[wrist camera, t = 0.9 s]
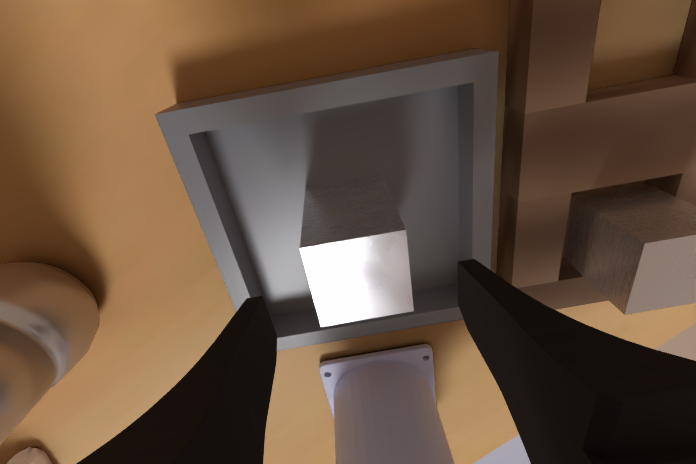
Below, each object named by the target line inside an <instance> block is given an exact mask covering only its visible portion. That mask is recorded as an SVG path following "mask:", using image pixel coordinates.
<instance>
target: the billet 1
mask: <svg viewBox="0 0 696 464" xmlns="http://www.w3.org/2000/svg"><path fill="white" fill-rule="evenodd" d="M300 251H301V255H302V259H303V262H304V266H305V270H306V273H307V277H308V281H309V285H310V288H311V292H312V296H313V299H314V303H315V307H316V310H317V314H318V318H319V322H320V325H321V327H324V326H330V325H336V324H342V323H348V322H353V321H359V320H365V319H371V318H377V317H382V316H388V315H394V314H400V313H406V312H412V311H414V308H413V297H412V287H411V276H410V266H409V255H408V245H407V235H406V229H405V226H404V224H403V222H402V219H401V217H400V215H399V213H398V210H397V208H396V206H395V203H394V201H393V199H392V197H391V194H390V192H389V190H388V187H387V185H386V183H385V181H384V178H383V176H382V174H380V175H374V176H368V177H363V178H357V179H352V180H346V181H341V182H335V183H329V184H324V185H318V186H313V187H307V188H305V197H304V208H303V219H302V229H301V240H300Z"/></svg>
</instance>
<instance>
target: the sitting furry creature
mask: <svg viewBox="0 0 696 464" xmlns="http://www.w3.org/2000/svg"><path fill="white" fill-rule="evenodd" d="M7 464H53V463H52V462H51V461H50V459H49V458H48V456H47V454H46V453H45V452H44V451H43V450H40V449H37V448H31V447H28V448H26V449H24V450H22V451H20V452H18V453H17V454H16V455H14V456H13V457H12V458H11V459H10V460H9V461H8V463H7Z"/></svg>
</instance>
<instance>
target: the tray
mask: <svg viewBox="0 0 696 464" xmlns="http://www.w3.org/2000/svg"><path fill="white" fill-rule="evenodd" d="M498 67H499V51H495V50H485V49H470V50H465V51H459V52H454V53H448V54H443V55H438V56H432V57H427V58H421V59H416V60H410V61H405V62H400V63H394V64H389V65H383V66H378V67H373V68H367V69H362V70H356V71H351V72H346V73H340V74H335V75H329V76H324V77H319V78H313V79H308V80H302V81H297V82H291V83H286V84H281V85H275V86H270V87H264V88H259V89H254V90H248V91H243V92H237V93H232V94H227V95H221V96H216V97H210V98H205V99H200V100H194V101H189V102H183V103H178V104H175V105H173V106H171V107H169V108H167V109H165V110H163V111H161V112H159V113H157V114H155V116H156V119H157V121H158V123H159V126H160V128H161V131H162V133H163V135H164V138H165V140H166V143H167V145H168V148H169V150H170V152H171V155H172V157H173V160H174V162H175V164H176V167H177V169H178V172H179V174H180V177H181V179H182V181H183V184H184V186H185V189H186V191H187V193H188V196H189V198H190V201H191V203H192V205H193V208H194V210H195V213H196V215H197V218H198V220H199V222H200V225H201V227H202V230H203V232H204V234H205V237H206V239H207V242H208V244H209V247H210V249H211V251H212V254H213V256H214V259H215V261H216V263H217V266H218V268H219V271H220V273H221V275H222V278H223V280H224V283H225V285H226V288H227V290H228V292H229V295H230V297H231V300H232V302H233V304H234V307H235V309H236V312H237V311H238V309H239V308H240V306H241V305H242V304H243V302H244V301H245V300H246V298H252V297H257V296H263V298H264V301H265V303H266V306H267V309H268V312H269V315H270V317H271V320H272V323H273V326H274V328H275V331H276V334H277V351H280V350H286V349H292V348H297V347H303V346H309V345H315V344H321V343H327V342H333V341H338V340H344V339H350V338H356V337H362V336H368V335H373V334H379V333H385V332H391V331H397V330H403V329H409V328H414V327H420V326H426V325H432V324H438V323H444V322H450V321H455V320H461V319H463V316H462V314H461V311H460V308H459V306H458V264H457V262H459V261H464V260H470V259H475V260H477V261H478V262H480V263H481V264H482V265H484V266H485V267H487V268H488V269H489V270H491V246H492V221H493V195H494V170H495V144H496V118H497V93H498ZM380 174H382V176H383V178H384V181H385V183H386V185H387V187H388V190H389V192H390V194H391V197H392V199H393V201H394V203H395V206H396V208H397V210H398V213H399V215H400V217H401V219H402V222H403V224H404V226H405V229H406V235H407V245H408V255H409V266H410V276H411V287H412V297H413V308H414V311H412V312H406V313H400V314H394V315H388V316H382V317H377V318H371V319H365V320H359V321H353V322H348V323H342V324H336V325H330V326H324V327H321V325H320V322H319V318H318V314H317V310H316V307H315V303H314V299H313V296H312V292H311V288H310V285H309V281H308V277H307V273H306V270H305V266H304V262H303V259H302V255H301V251H300V240H301V229H302V219H303V208H304V197H305V188H307V187H313V186H318V185H324V184H329V183H335V182H341V181H346V180H352V179H357V178H363V177H368V176H374V175H380Z"/></svg>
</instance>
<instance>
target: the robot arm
mask: <svg viewBox="0 0 696 464" xmlns="http://www.w3.org/2000/svg"><path fill="white" fill-rule="evenodd" d="M457 264H458V306H459V308H460V311H461V314H462V316H463V319H464V321H465V324H466V326H467V329H468V331H469V333H470V335H471V336H472V338H473V340H474V342H475V344H476V346H477V347H478V349H479V351H480V353H481V355H482V357H483V358H484V360H485V362H486V364H487V366H488V367H489V369H490V371H491V373H492V375H493V377H494V378H495V380H496V382H497V384H498V386H499V388H500V390H501V392H502V394H503V396H504V399H505V401H506V404H507V406H508V408H509V411H510V413H511V415H512V418H513V420H514V422H515V425H516V427H517V430H518V432H519V435H520V437H521V440H522V442H523V444H524V447H525V449H526V452H527V454H528V457H529V460H530V462H531V464H696V361H694V360H690V359H686V358H683V357H679V356H676V355H672V354H668V353H665V352H661V351H657V350H654V349H651V348H648V347H645V346H642V345H639V344H636V343H633V342H630V341H627V340H624V339H621V338H618V337H615V336H613V335H610V334H607V333H605V332H602V331H600V330H598V329H595V328H593V327H590V326H588V325H585V324H583V323H581V322H579V321H576V320H574V319H572V318H570V317H568V316H566V315H564V314H562V313H560V312H558V311H556V310H554V309H552V308H550V307H548V306H546V305H544V304H543V303H541V302H539V301H537V300H536V299H534V298H532V297H531V296H529V295H527V294H526V293H524V292H522V291H521V290H519V289H518V288H516V287H514V286H513V285H511V284H510V283H508V282H507V281H505V280H504V279H502V278H501V277H500V276H498V275H497V274H495V273H494V272H492V271H491V270H489V269H488V268H487V267H485V266H484V265H482V264H481V263H480V262H478V261H477V260H475V259H470V260H464V261H459V262H457ZM426 355H427V356H426ZM276 356H277V334H276V331H275V328H274V326H273V323H272V320H271V317H270V315H269V312H268V309H267V306H266V303H265V301H264V298H263V296H257V297H252V298H246V300H245V301H244V302H243V304H242V305H241V306H240V308H239V309H238V311H237V312H236V313H235V315H234V316H233V317H232V319H231V320H230V322H229V323H228V324H227V326H226V327H225V328H224V330H223V331H222V332H221V334H220V335H219V336H218V338H217V339H216V340H215V342H214V343H213V344H212V345H211V346H210V348H209V349H208V350H207V351H206V352H205V354H204V355H203V356H202V357H201V358H200V360H199V361H198V362H197V363H196V364H195V365H194V367H193V368H192V369H191V370H190V371H189V372H188V373H187V374H186V375H185V376H184V377H183V378H182V379H181V380H180V381H179V382H178V383H177V384H176V385H175V386H174V387H173V388H172V389H171V390H170V391H169V392H168V393H167V394H166V395H164V396H163V397H162V398H161V399H160V400H159V401H158V402H157V403H156V404H155V405H153V406H152V407H151V408H150V409H149V410H148V411H147V412H145V413H144V414H143V415H142V416H141V417H139V418H138V419H137V420H136V421H135V422H133V423H132V424H131V425H130V426H128V427H127V428H126V429H124V430H123V431H122V432H121V433H119V434H118V435H117V436H115V437H114V438H113V439H111V440H110V441H109V442H107V443H106V444H104V445H103V446H101V447H100V448H99V449H97V450H96V451H94V452H93V453H91V454H90V455H89V456H87V457H86V458H84V459H83V460H81V461H80V462H78V463H77V464H263V455H264V440H265V429H266V421H267V415H268V409H269V403H270V397H271V391H272V385H273V379H274V373H275V366H276ZM319 371H320V374H321V378H322V381H323V385H324V388H325V391H326V395H327V398H328V401H329V405H330V408H331V411H332V415H333V418H334V428H335V455H336V464H454V461H453V457H452V454H451V451H450V448H449V445H448V441H447V438H446V435H445V432H444V429H443V425H442V422H441V419H440V416H439V413H438V409H437V406H436V395H435V380H434V365H433V351H432V348H431V346H430V345H428V344H422V345H416V346H410V347H404V348H398V349H392V350H387V351H381V352H375V353H369V354H363V355H357V356H351V357H345V358H339V359H334V360H328V361H323V362H321V363H320V365H319ZM326 372H329V373H326Z"/></svg>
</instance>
